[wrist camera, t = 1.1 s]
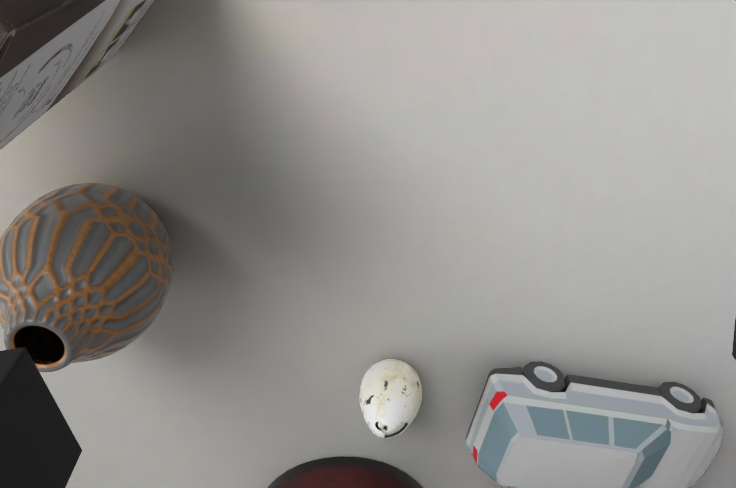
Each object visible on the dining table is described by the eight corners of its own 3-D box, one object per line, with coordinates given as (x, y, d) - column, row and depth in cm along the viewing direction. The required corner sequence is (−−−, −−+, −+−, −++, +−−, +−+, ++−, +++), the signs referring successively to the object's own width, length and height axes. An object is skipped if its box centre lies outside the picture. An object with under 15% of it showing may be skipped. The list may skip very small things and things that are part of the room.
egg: (378, 398, 38) (380, 470, 34) (348, 359, 37) (346, 428, 33) (430, 376, 38) (439, 446, 33) (401, 334, 36) (406, 402, 32)
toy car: (674, 458, 41) (711, 532, 36) (459, 427, 39) (471, 500, 35) (718, 383, 38) (763, 453, 34) (487, 347, 37) (504, 416, 32)
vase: (4, 212, 32) (-105, 328, 25) (113, 132, 30) (31, 230, 23) (111, 313, 35) (43, 443, 28) (217, 245, 33) (175, 366, 26)
